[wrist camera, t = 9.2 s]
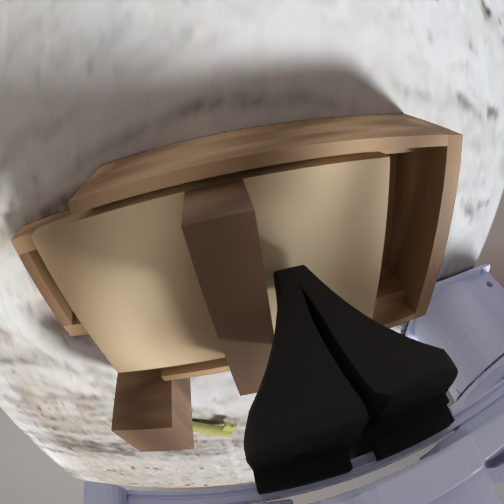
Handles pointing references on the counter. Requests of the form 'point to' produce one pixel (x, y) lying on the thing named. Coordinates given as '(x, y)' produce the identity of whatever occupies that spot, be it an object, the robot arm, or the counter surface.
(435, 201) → the wooden tray
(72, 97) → the counter surface
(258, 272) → the lid
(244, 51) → the counter surface
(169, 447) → the brown wooden block
